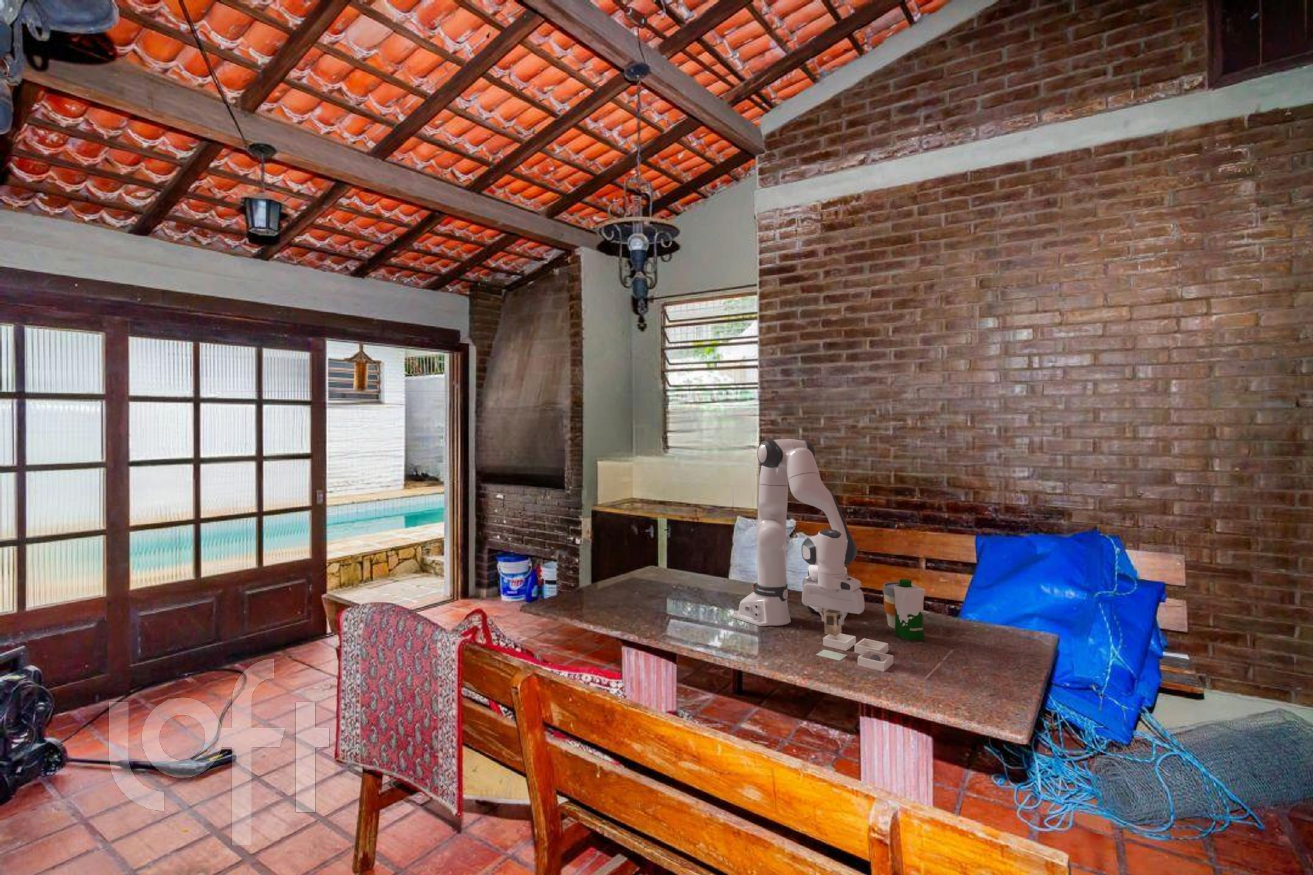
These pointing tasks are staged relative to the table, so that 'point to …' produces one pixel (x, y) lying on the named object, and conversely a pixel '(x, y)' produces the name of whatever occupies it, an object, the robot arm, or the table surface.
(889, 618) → the reusable coffee cup
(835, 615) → the tan tall block
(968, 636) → the table surface
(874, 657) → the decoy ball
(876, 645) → the white square cubby
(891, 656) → the white square open box
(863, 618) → the table surface
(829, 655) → the pad
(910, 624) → the milk carton
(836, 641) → the white open square tray
